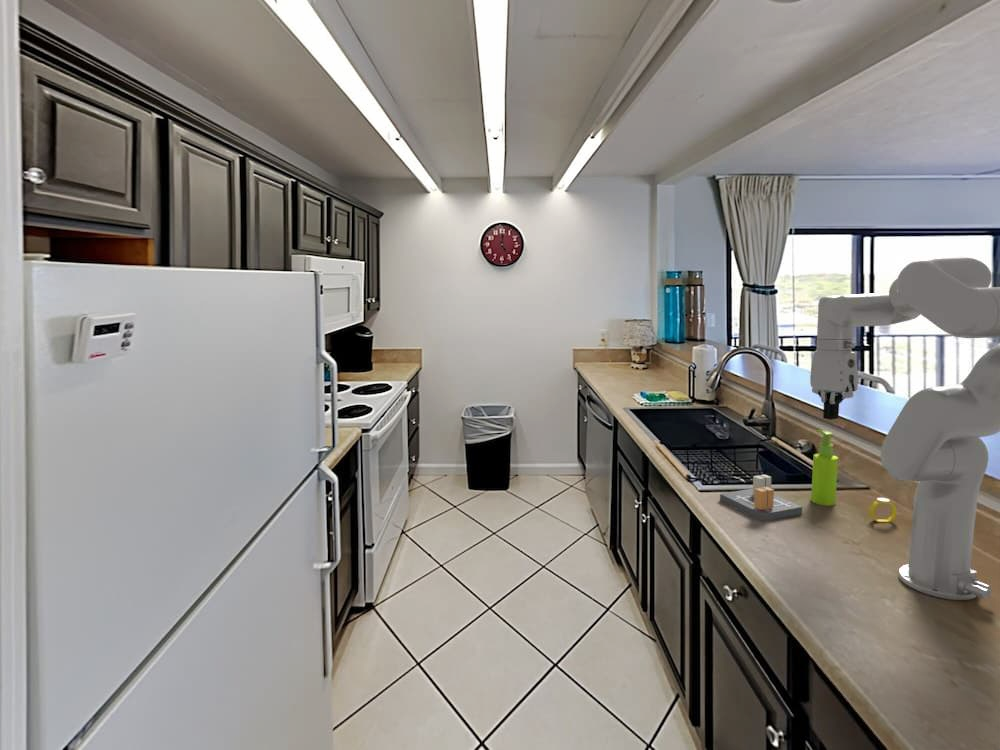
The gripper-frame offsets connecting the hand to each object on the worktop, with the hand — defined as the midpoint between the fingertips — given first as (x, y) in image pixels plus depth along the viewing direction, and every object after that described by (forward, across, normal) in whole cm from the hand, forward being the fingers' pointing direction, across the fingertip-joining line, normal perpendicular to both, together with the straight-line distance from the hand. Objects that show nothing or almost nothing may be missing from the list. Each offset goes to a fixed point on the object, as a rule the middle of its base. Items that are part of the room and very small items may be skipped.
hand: (830, 418), depth 140 cm
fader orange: (+24, +8, +13) cm, 28 cm away
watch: (+27, -6, -12) cm, 30 cm away
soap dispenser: (+27, +10, -10) cm, 30 cm away
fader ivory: (+24, +16, +5) cm, 29 cm away
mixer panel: (+26, +13, +9) cm, 31 cm away
